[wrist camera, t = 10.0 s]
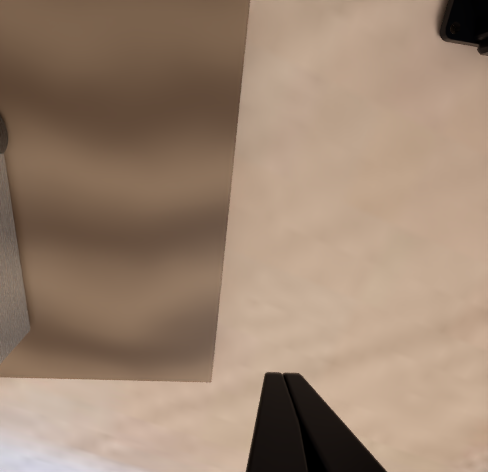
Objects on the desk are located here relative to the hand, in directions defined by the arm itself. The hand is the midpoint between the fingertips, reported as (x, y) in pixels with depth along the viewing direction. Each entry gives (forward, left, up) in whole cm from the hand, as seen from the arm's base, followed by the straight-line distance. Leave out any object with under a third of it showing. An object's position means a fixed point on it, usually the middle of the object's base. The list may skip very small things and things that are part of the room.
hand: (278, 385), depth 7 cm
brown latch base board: (0, -10, -12) cm, 16 cm away
